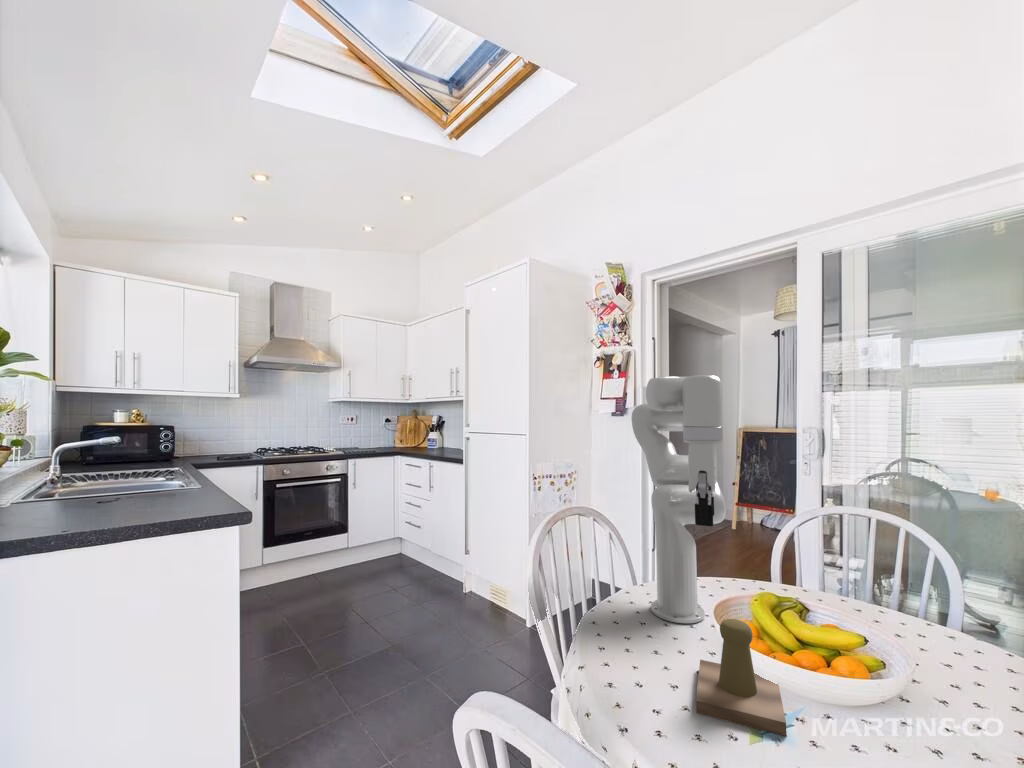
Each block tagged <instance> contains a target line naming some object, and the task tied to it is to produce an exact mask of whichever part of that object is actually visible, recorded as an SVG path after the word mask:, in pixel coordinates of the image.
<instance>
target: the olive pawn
mask: <svg viewBox="0 0 1024 768" xmlns="http://www.w3.org/2000/svg"><path fill="white" fill-rule="evenodd" d="M719 633H720V636H721V638H722V640H723V641H722V642H723V643H722V649H721V659H720V664H721V667H720V676H719V685H720V686H721V688H722V689H724V690H725V691H726V692H728V693H730V694H733V695H736V696H740V697H752V696H754V695H756V693H757V687H756V681H755V676H754V671H755V670H754V664H753V659H752V653H751V647H750V644H751V643H752V641H753V637H754V636H753V631H752V629H751V627H750V625H749V624H748V623H746V622H745V621H743V620H739V619H737V618H727V619H724V620H722V621H721V623H720V626H719Z"/></svg>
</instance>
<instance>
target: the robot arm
mask: <svg viewBox="0 0 1024 768" xmlns="http://www.w3.org/2000/svg"><path fill="white" fill-rule="evenodd" d="M645 398H646V399H645V400H646V403H642V404H639V405H638V406H636V407H634V408H633V410H632V411H631V412H632V413H631V427H632V431H633V434H634V437H635V439H636V441H637V443H638V444H639V446H640V448H641V449H642V451H643V453H644V456H645V459H646V464H647V468H648V472H649V476H650V480H651V481H652V484H653V485H654V486H655V487H656V488H654V489H653V491H652V493H651V497H650V498H651V508H652V515H653V520H654V529H655V531H654V532H655V550H656V551H655V553H656V555H655V556H656V558H655V559H656V592H657V593H656V594H657V596H656V597H657V599H656V600H653V601H652V603H651V604H650V610H651V612H652V613H653V615H654V616H656V617H657V618H660V619H662V620H664V621H667V622H672V623H677V624H684V625H687V624H696V623H700V622H701V621H704V619H705V615H706V614H705V610H704V608H703V607H702V606H700V605H699V604H698V578H697V577H698V575H697V573H698V571H697V570H698V569H697V545H696V541H695V539H694V537H693V535H692V534H691V532H690V531H688V530H687V528H686V527H685V525H696V526H701V527H702V526H704V527H713V526H714V525H716V524H719V523H722V522H723V521H724V520H725V518H726V515H727V514H726V513H727V505H726V501H725V498H724V494H723V491H722V489H721V487H720V484H719V482H718V479H717V477H718V476H717V475H718V450H717V449H718V445H717V444H719V445H720V444H724V433H723V432H724V431H723V429H724V428H723V402H722V398H723V397H722V381H721V379H720V378H719V377H718V376H717V375H709V374H705V375H704V374H703V375H702V374H701V375H699V374H698V375H690V376H677V375H669V376H667V375H666V376H659V377H653V378H650V379H649V380H648V382H647V385H646V388H645ZM661 432H683V443H687V444H688V453H687V455H685V454H683V455H681V454H678V453H677V450H676V448H675V445H674V444H673V442H672V441H671V440H670V439H669V438H668V437H667V436H665V435H664V434H662V433H661Z"/></svg>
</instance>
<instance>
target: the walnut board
mask: <svg viewBox="0 0 1024 768" xmlns="http://www.w3.org/2000/svg"><path fill="white" fill-rule="evenodd" d="M720 667H721V663H719V662H714V661H710V660H709V661H708V660H704V659H700V660H699V667H698V675H697V676H698V678H697V685H696V686H697V687H696V695H695V696H696V697H695V711H696V712H695V713H696V714H697V715H698V714H699V715H703V716H706V717H711V718H714V719H718V720H722V721H727V722H730V723H733V724H738V725H742V726H745V727H749V728H753V729H756V728H757V730H759V731H764V732H768V733H773V734H776V735H780V736H784V737H787V733H788V732H787V721H786V716H785V710H784V706H783V705H784V704H783V700H782V695H781V690H780V684H779V683H778V684H779V685H778V684H775V683H773V682H771V681H769V680H766V679H764V678H762V677H760V676H759V675H757V674H755V673H754V676H755V681H756V687H757V693H756V695H754V696H752V697H740V696H736V695H733V694H730V693H728V692H726V691H725V690H724V689H722V688H721V686H720V685H719V676H720Z"/></svg>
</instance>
